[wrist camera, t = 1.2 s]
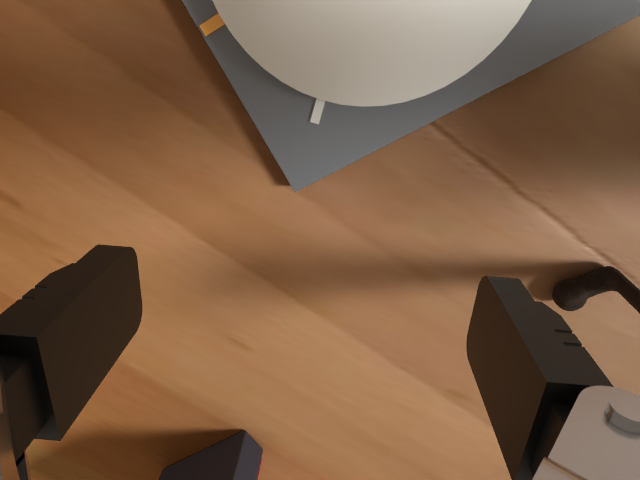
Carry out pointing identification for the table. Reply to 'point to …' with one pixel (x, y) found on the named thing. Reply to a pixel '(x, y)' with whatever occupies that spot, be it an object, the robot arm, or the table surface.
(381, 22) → the dial
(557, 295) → the wrench
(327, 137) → the dial plate
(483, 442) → the table surface
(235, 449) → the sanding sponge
